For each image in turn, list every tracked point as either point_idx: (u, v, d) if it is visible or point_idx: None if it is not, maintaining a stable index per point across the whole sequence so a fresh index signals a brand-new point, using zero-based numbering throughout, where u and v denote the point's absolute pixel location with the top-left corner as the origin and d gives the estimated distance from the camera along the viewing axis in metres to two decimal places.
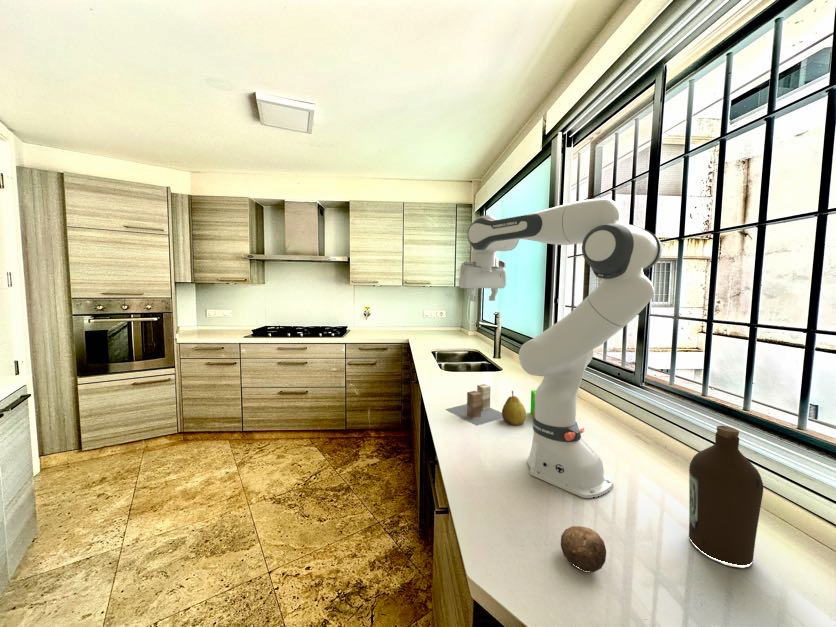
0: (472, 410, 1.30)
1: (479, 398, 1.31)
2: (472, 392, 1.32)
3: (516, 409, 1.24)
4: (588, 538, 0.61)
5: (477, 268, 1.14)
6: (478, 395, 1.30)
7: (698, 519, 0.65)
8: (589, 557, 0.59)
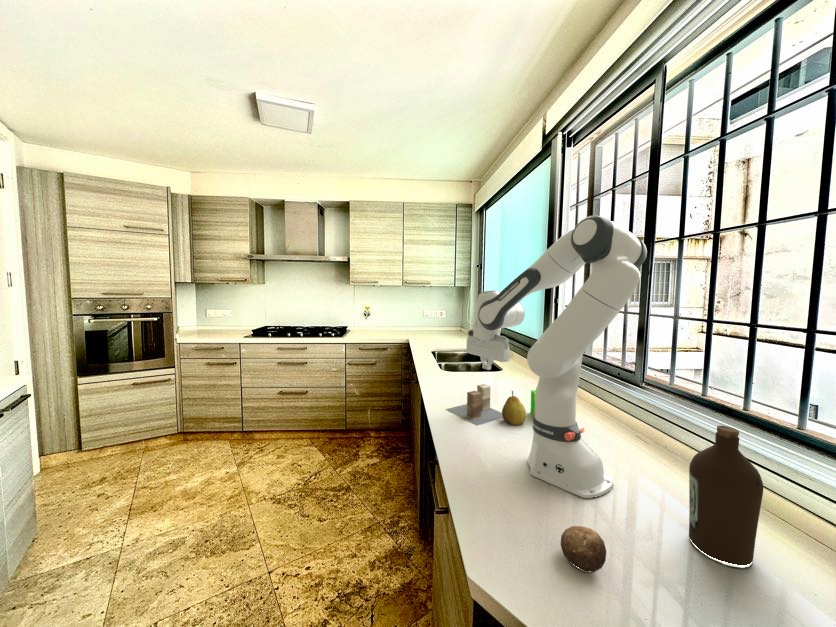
0: (472, 410, 1.30)
1: (479, 398, 1.31)
2: (472, 392, 1.32)
3: (516, 409, 1.24)
4: (588, 538, 0.61)
5: None
6: (478, 395, 1.30)
7: (698, 519, 0.65)
8: (589, 557, 0.59)
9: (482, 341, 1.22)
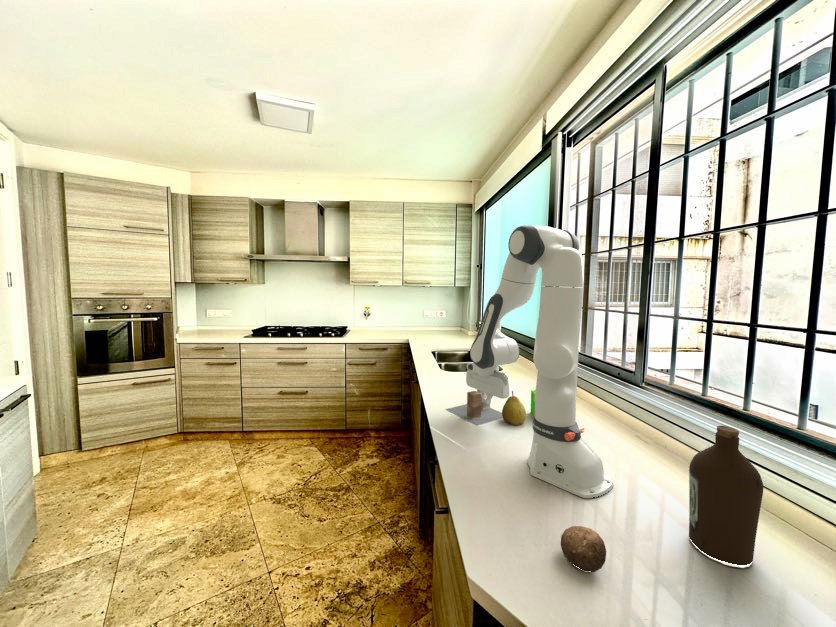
0: (472, 410, 1.30)
1: (479, 398, 1.31)
2: (472, 392, 1.32)
3: (516, 409, 1.24)
4: (588, 538, 0.61)
5: None
6: (478, 395, 1.30)
7: (698, 519, 0.65)
8: (589, 557, 0.59)
9: (481, 376, 1.23)
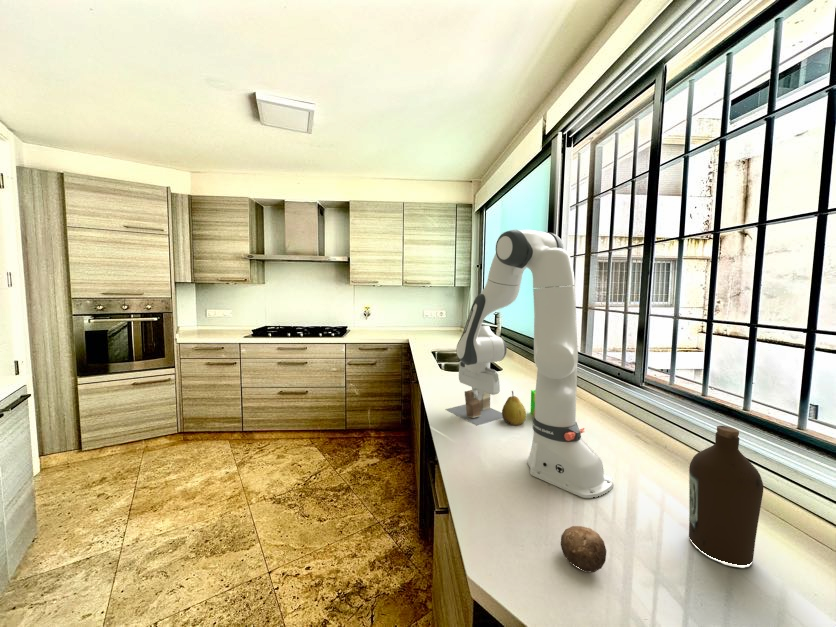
0: (471, 408, 1.30)
1: None
2: (469, 391, 1.34)
3: (516, 409, 1.24)
4: (588, 538, 0.61)
5: None
6: None
7: (698, 519, 0.65)
8: (589, 557, 0.59)
9: (473, 373, 1.27)
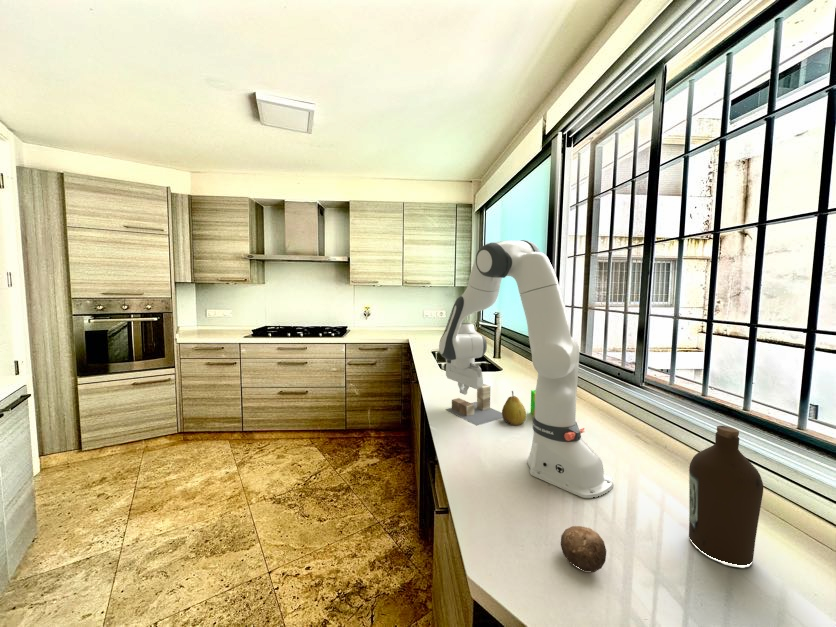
0: (461, 405, 1.36)
1: (460, 399, 1.41)
2: None
3: (516, 409, 1.24)
4: (588, 538, 0.61)
5: None
6: (457, 399, 1.42)
7: (698, 519, 0.65)
8: (589, 557, 0.59)
9: (458, 369, 1.35)
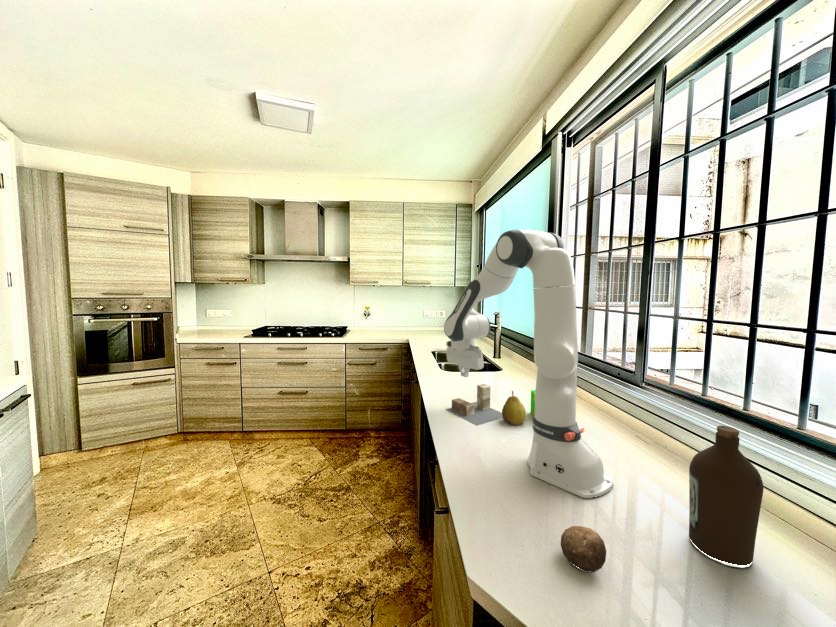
0: (461, 405, 1.36)
1: (460, 399, 1.41)
2: None
3: (516, 409, 1.24)
4: (588, 538, 0.61)
5: None
6: (457, 399, 1.42)
7: (698, 519, 0.65)
8: (589, 557, 0.59)
9: (459, 351, 1.34)
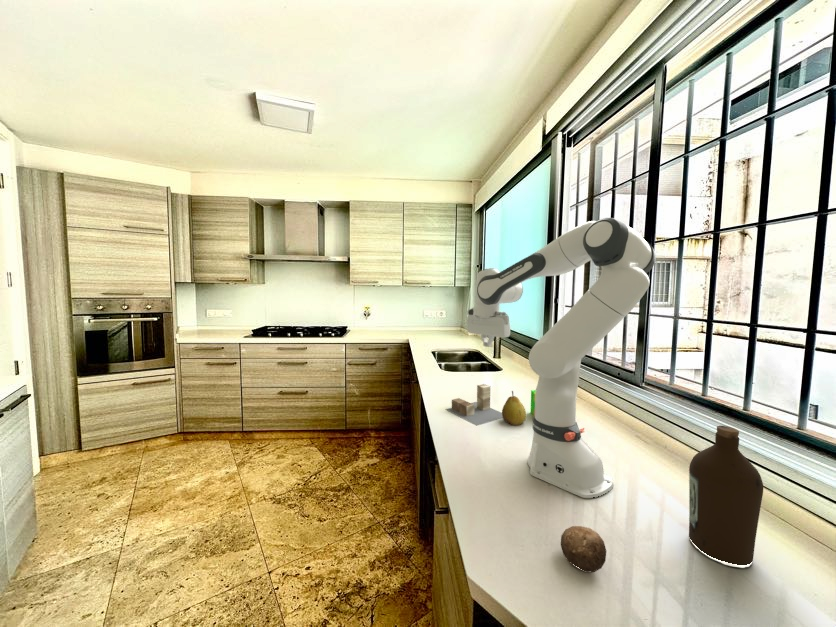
0: (461, 405, 1.36)
1: (460, 399, 1.41)
2: None
3: (516, 409, 1.24)
4: (588, 538, 0.61)
5: None
6: (457, 399, 1.42)
7: (698, 519, 0.65)
8: (589, 557, 0.59)
9: (482, 318, 1.24)
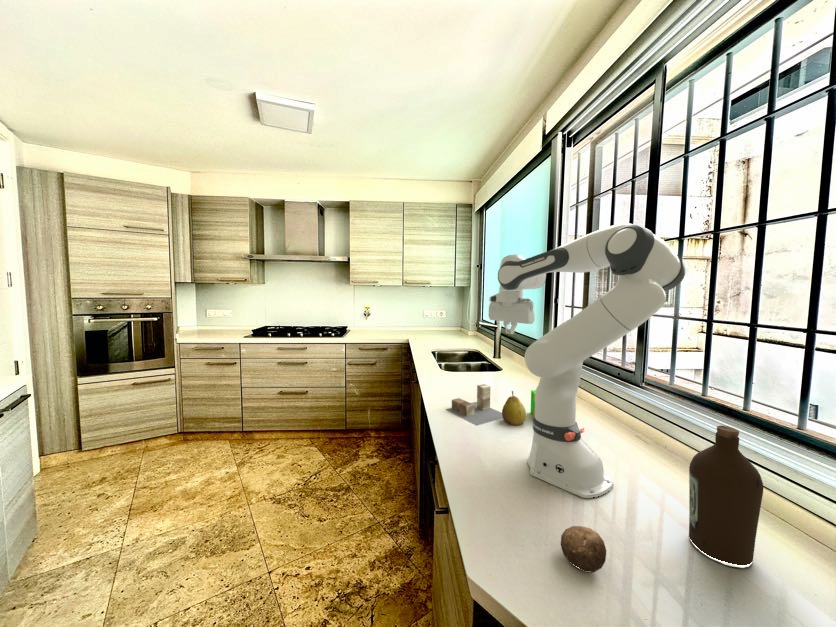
0: (461, 405, 1.36)
1: (460, 399, 1.41)
2: None
3: (516, 409, 1.24)
4: (588, 538, 0.61)
5: None
6: (457, 399, 1.42)
7: (698, 519, 0.65)
8: (589, 557, 0.59)
9: (506, 305, 1.23)
